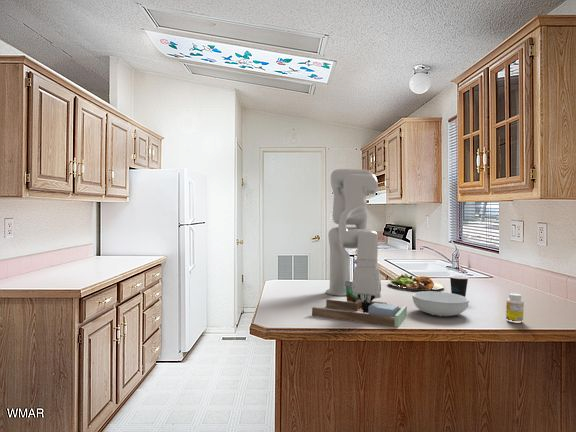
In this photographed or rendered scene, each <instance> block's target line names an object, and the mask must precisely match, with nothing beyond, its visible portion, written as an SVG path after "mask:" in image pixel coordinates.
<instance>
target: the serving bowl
mask: <svg viewBox="0 0 576 432" xmlns="http://www.w3.org/2000/svg"><path fill="white" fill-rule="evenodd" d="M412 301H413V304H414V306H415V307H416V308H417V309H418V310H420V311H422V312H424V313H426V314H429V315H431V314H433V315H432V316H435V315H441V316H440V317H443V316H445V317H452V316H456V315H460V314H462V313H463V312H465V311H466V310H467V308H468V307H469V303H470V299H469V298H468V297H466V296H465V297H464V296H461V295H457V294H452V293H451V292H445V291H435V290H434V291H433V290H422V291H417V292H414V293H412Z"/></svg>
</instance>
